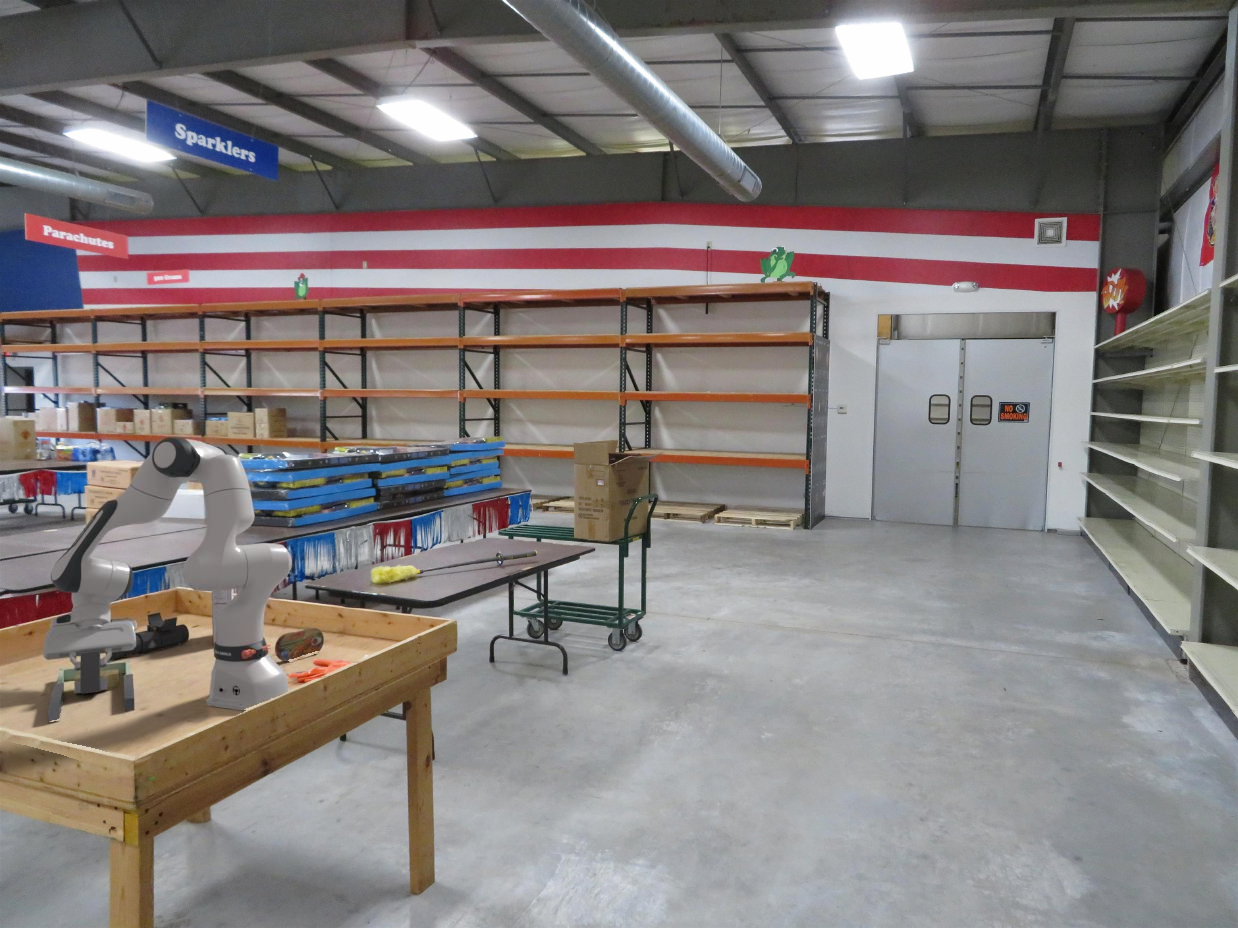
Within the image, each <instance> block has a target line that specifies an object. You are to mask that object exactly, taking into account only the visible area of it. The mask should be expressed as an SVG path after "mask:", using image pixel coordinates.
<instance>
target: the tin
mask: <svg viewBox="0 0 1238 928" xmlns="http://www.w3.org/2000/svg"><path fill="white" fill-rule="evenodd" d="M324 639H325V637H324V634H323V632H322V631H321V630H320V629H319V628H316V627H306V628H301V629H299V630H294V631H290V632H287V633H283V634H282V635H281V636H280V637H278V639H277V640H276V642H275V644H274V645H275V647H274V652H275V656H276V657H277V659H278V660H280V661H283V662H286V661H288V660H289V659H294V658H297V657H300V656H302V655H306V654H308V653H312V652H315V651H319V652H320V651H321V650H322V649H323V646H324V641H325V640H324Z"/></svg>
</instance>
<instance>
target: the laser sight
mask: <svg viewBox="0 0 1238 928" xmlns="http://www.w3.org/2000/svg"><path fill="white" fill-rule="evenodd" d="M161 614H162V613H161V612H156V613H150V614H147V621H148V622H147V623H148V624H147V625H146V629H147V630H142V631H138V632H135V635H136V647H135V648H134V649H133V650H129V651H120V652H112V656H111V657H110V659H109V660H115V659H116V660H117V659H120V658H125V657H129V656H132V655H137V654H138V655H143V654H148V653H152V652H155V651H159V650H164V649H167V648H173V647H177V646H180V644H185V643H187V642H188V641H189V639H190V631H189V628H188V627H187V625H186V624H183V623H182V624H178V625H177V623H178V622H177V621H178V617H177V616H175V617H169V618H164V619H163V618H162V615H161Z"/></svg>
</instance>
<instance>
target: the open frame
mask: <svg viewBox="0 0 1238 928" xmlns="http://www.w3.org/2000/svg"><path fill="white" fill-rule="evenodd" d="M116 669H119V674H124V673H125V675H128V674H132V673H131V660H124V661H123V660H122V661H116V662H115V661H114V662H107V667H103V668H100V672H101V671H107V670H116ZM57 674H58V676H57V680H56V684H60V683H64V684H65V681H64V680H66V681H71V680H72V681H73V680H75V678H76V674H81V670H79V671H75V666H74V667H67V668H59V671H58V673H57Z"/></svg>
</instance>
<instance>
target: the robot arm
mask: <svg viewBox="0 0 1238 928" xmlns="http://www.w3.org/2000/svg"><path fill="white" fill-rule="evenodd" d="M185 482H189V483H194V484H201V487H202V490H203V491H202V492H203V499H204V500H203V501H204V506H205V507H204V508H205V515H206V530H205V535H204V537H203V539H202V542H201V543H200V545H199V546H198V547H197V548H196V549H195V550H194V551H193V552H192V553H191V554H189V556H188V557H187V559H186V561H185V562H184V566H183V578H184V581H185V582H186V584H187V586H188V587H190V589H192V590H193V591H195V592H196V591H197V592H212V591H213V592H215V591H222V590H229V589H234V590H236V589H238V591H237V593H236V594H235V596H234V598H233V599H232V600H231V601H230V602H228V603H226V604H225V605H224V606H222V607H221V608H220V610H219V611H218V613H217V615H216V642H215V643H214V646H213V657H214V658H215V661H214V665H213V667H212V669H211V674H210V675H211V676H210V684H209V694H208V695H209V696H208V698H207V699H206V701H205V705H206V706H209V707H217V708H223V709H230V710H236V711H242V710H244V709H246V708H249V707H252V706H254V705H257V704H259V703H262V702H265V701H268V700H270V699H271V698H275V697H277V696H280V695H282V694H284V693H286V692H288V691H289V690H294V689H293V688H290V687H289V681H288V677H287V673H286V672H285V669H284V667H281V666H280V665H279V664H278V663H277V662H276V661H275V660H274V659H273V658H272V656H270V654H269V650H270V649H271V644H267V641H266V639H265V637H264V624H265V623H264V622H265V621H264V620H265V611H266V608H267V607H266V606H267V603H268V601H269V599H270V596H272V593H273V591H274V590H275V589H276V588H277V586H278V585H279V584H280V583H282V581H284V580H285V579H286V578H287V577H288V575H289V574H290V571H291V569H292V565H293V563H292V562H293V561H292V557H291V554H290V552H289V550H288V549H287V548H286V547H285V546H284V545H283V544H279V543H278V544H277V543H270V542H269V543H268V542H260V543H251V544H250V543H249V544H240V545H239V544H238V545H237V543H236V542H237V541H236V537H237V536H238V535H240V534H241V533H243V532H244V531H247V530H248V529H249V528H250V527H251V526H252V525H253V523H254V521H255V517H256V515H255V509H254V503H253V499H252V492H251V487H250V482H249V479H248V476H247V473H246V471H245V468H244V466H243V463H242V461H241V460H240V459H239V458H238V457H237V456H234V455H231V453H229V451H227V450H225V449H224V448H222V447H220V446H213V445H211V444H208V443H206V442H203V441H201V440H195V439H191V438H190V439H189V438H184V437H182V436H181V437H180V436H171V437H170V436H169V437H165V438H163V439H161V440H159V441H158V442H157V443H156V445H155V446H154V448H153V450H152V453H150V454H149V455H148V456H147V458H145V460H144V461H142V463H141V465H140V466H139V467H138V469H137V471H136V472H135V474H134V475H133V477H132V478H131V481H130V483H129V485H128V487H127V488H126V490H125V491H123V493H121V494H120V495H119V496H118V497H116V498H114V499H110V500H108V501H106V502H105V503H103V505H102V506H101V507H100V508H99V509H98V510H97V511H96V512H95V514H93V516H92V517H91V519H90V520H89V522H88V523H87V524H86V526H85V527H84V528H83V530H82V531H81V532H80V533H79V535H78V536H77V538H76V539H75V541H73V543H72V544H71V546H70V547H69V548H68V549H67V550H66V551H65V552H64V553H63V554H62V555H61V557H59V559H58V560H57V561H56V562H55V564H54V565H53V568H52V570H51V574H50V579H51V582H52V583H53V586H54V587H55V588H56V589H57V590H58V591H60V593H69V594H71V603H72V609H71V611H70V612H68V613H66V614H63V615H58V616H56V617H53V618H52V619H51V621H50V626H49V627H50V628H49V629H48V631H47V632H46V634H45V637H44V641H43V648H42V650H43V651H42V655H43V658H45V659H46V660H47V661H49V660H59V659H67V658H69V662H70V663H71V664H72V665H74V667H75V671H79V670H81V660H80V661H78V660H77V657H81V653H83V652H92V651H100V655H103V654H105V656H104V658H100V668H103V667H107V663H108V662H109V660H111V659H110V657H111V656H112V652H120V651H129V650H133V649H134V648H135V647H136V635H135V633H136V631H137V629H138V622H137V621H136V620H135V619H133V618H131V617H125V618H112V616H111V615H112V614H111V613H112V612H111V606H110V605H111V604H112V602H114V603H115V602H116V601H118V600H119V599H121V598H122V597H124V596H126V595H127V594H129V592H130V591H131V590H132V589H133V586H134V579H135V577H134V576H135V575H134V572H133V569H132V567H131V566H130V565H129V564H128V563H124V562H121V561H117V560H110V559H104V558H99V557H93V556H91V555H92V554H93V552H94V551H95V550H96V548H97V547H98V546H99V544H100V543H101V541H102V540H103V539H104V537H105V536H106V535H107V534H108V533H109V532H110V531H112V530H114V529H116V528H119V527H120V528H121V527H125V526H130V525H143V524H150V523H152V522H155V521H157V520H159V519H161V518H162V517H164V515H165V514H167V512H168V510H169V509H170V507H171V505H172V504H173V500H174V499H175V497H176V494H177V492H178V491H179V489H180V487H181V486H182V484H183V483H185Z"/></svg>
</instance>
